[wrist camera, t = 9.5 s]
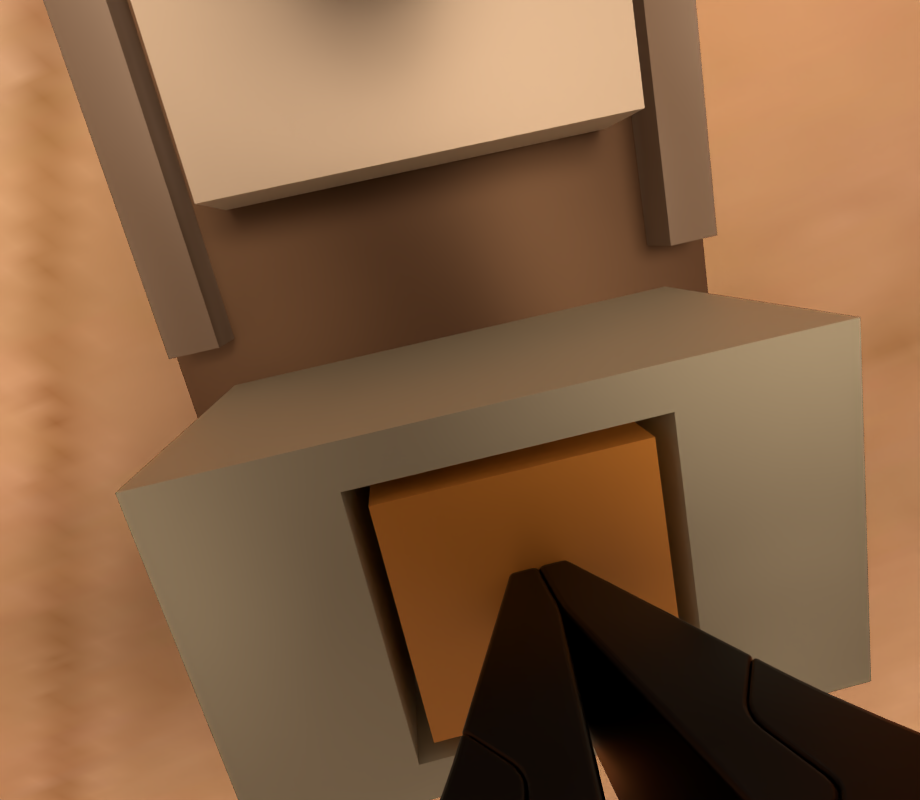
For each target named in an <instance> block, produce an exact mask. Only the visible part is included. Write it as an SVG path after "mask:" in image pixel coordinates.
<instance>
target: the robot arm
mask: <svg viewBox="0 0 920 800" xmlns="http://www.w3.org/2000/svg"><path fill="white" fill-rule="evenodd" d="M462 735H463V736H461V738H460V740H459V744H458V747H457V750H456V754H455V757H454V760H453V763H452V766H451V769H450V772H449V775H448V778H447V781H446V784H445V787H444V789H443V792H442V795H441V798H440V800H605V796H604V792H603V787H602V783H601V779H600V774H599V770H598V766H597V761H596V757H595V753H594V749H595V751H596V753H597V755H598V757H599V760H600V762H601V764H602V766H603V768H604V770H605V772H606V774H607V776H608V778H609V780H610V782H611V785H612V787H613V789H614V791H615V793H616V795H617V797H618V799H619V800H920V733H919V732H917V731H914V730H912V729H909V728H907V727H905V726H902V725H900V724H897V723H895V722H892V721H890V720H888V719H885V718H883V717H881V716H878V715H876V714H874V713H871V712H869V711H867V710H865V709H862V708H860V707H858V706H855V705H853V704H851V703H849V702H846V701H844V700H842V699H839V698H837V697H835V696H833V695H830V694H828V693H826V692H824V691H822V690H820V689H818V688H816V687H814V686H812V685H810V684H808V683H805V682H803V681H801V680H799V679H797V678H795V677H793V676H791V675H789V674H787V673H785V672H783V671H781V670H779V669H777V668H775V667H773V666H771V665H769V664H767V663H765V662H763V661H762V660H760V659H757V658H755V659H752V656H751V655H749V654H747V653H745V652H744V651H742V650H740V649H738V648H736V647H734V646H732V645H730V644H728V643H726V642H724V641H722V640H720V639H718V638H716V637H714V636H712V635H711V634H709V633H707V632H705V631H703V630H701V629H699V628H697V627H695V626H693V625H691V624H689V623H687V622H685V621H683V620H681V619H679V618H678V617H676V616H674V615H672V614H670V613H668V612H666V611H664V610H662V609H660V608H658V607H656V606H654V605H652V604H650V603H648V602H646V601H645V600H643V599H641V598H639V597H637V596H635V595H633V594H631V593H629V592H627V591H625V590H623V589H621V588H619V587H617V586H615V585H613V584H612V583H610V582H608V581H606V580H604V579H602V578H600V577H598V576H596V575H594V574H592V573H590V572H588V571H586V570H584V569H582V568H580V567H579V566H577V565H575V564H573V563H571V562H569V561H566V560H563V561H559V562H555V563H551V564H547V565H543V566H541V567H540V570H538V569H536V568H531V569H527V570H523V571H519V572H515V573H512V574H511V575H510V577H509V579H508V583H507V586H506V589H505V593H504V596H503V599H502V603H501V606H500V609H499V612H498V616H497V619H496V622H495V626H494V629H493V632H492V636H491V639H490V642H489V645H488V649H487V652H486V655H485V659H484V662H483V665H482V669H481V672H480V675H479V679H478V682H477V685H476V688H475V692H474V695H473V698H472V702H471V705H470V708H469V712H468V715H467V718H466V722H465V725H464V728H463V731H462ZM593 747H594V748H593Z"/></svg>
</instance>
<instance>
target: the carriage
mask: <svg viewBox="0 0 920 800" xmlns="http://www.w3.org/2000/svg"><path fill="white" fill-rule="evenodd" d="M130 1H131V4H132V7H133V10H134V13H135V16H136V20H137V23H138V26H139V29H140V32H141V35H142V39H143V42H144V45H145V48H146V51H147V54H148V58H149V61H150V64H151V67H152V70H153V73H154V77H155V80H156V83H157V86H158V89H159V92H160V95H161V99H162V102H163V105H164V108H165V111H166V114H167V118H168V121H169V124H170V127H171V130H172V133H173V137H174V140H175V143H176V146H177V149H178V152H179V156H180V159H181V162H182V165H183V168H184V171H185V174H186V178H187V181H188V184H189V187H190V190H191V193H192V197H193V200H194V203H195V204H198V205H203V206H208V207H213V208H218V209H223V210H229V209H234V208H239V207H243V206H248V205H253V204H257V203H262V202H267V201H271V200H276V199H281V198H285V197H290V196H295V195H299V194H304V193H309V192H313V191H318V190H323V189H327V188H332V187H337V186H341V185H346V184H351V183H355V182H360V181H365V180H369V179H374V178H379V177H383V176H388V175H393V174H397V173H402V172H407V171H411V170H416V169H421V168H425V167H430V166H435V165H439V164H444V163H449V162H453V161H458V160H463V159H467V158H472V157H477V156H481V155H486V154H491V153H495V152H500V151H505V150H509V149H514V148H519V147H523V146H528V145H533V144H537V143H542V142H547V141H551V140H556V139H561V138H565V137H570V136H575V135H579V134H584V133H589V132H594V131H598V130H603V129H607V128H608V127H610V126H612V125H614V124H616V123H618V122H620V121H621V120H623V119H625V118H627V117H629V116H631V115H633V114H634V113H636V112H638V111H640V110H642V109H644V108H645V106H644V98H643V89H642V81H641V72H640V63H639V55H638V46H637V38H636V29H635V20H634V12H633V3H632V0H130Z"/></svg>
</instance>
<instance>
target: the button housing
mask: <svg viewBox="0 0 920 800" xmlns="http://www.w3.org/2000/svg"><path fill="white" fill-rule="evenodd" d="M631 422H635V423H637V424H638V425H639V426H641V427H642V428H644V429H645V430H646V431H648V432H649V433H650V434H652V435H653V436H654V437H655V439H656V447H657V455H658V462H659V470H660V478H661V486H662V493H663V501H664V509H665V516H666V524H667V532H668V539H669V547H670V555H671V563H672V570H673V578H674V586H675V593H676V601H677V609H678V616H679V619H681V620H683V621H685V622H687V623H689V624H691V625H693V626H695V627H697V628H699V629H701V630H703V631H705V632H707V633H709V634H711V635H712V636H714V637H716V638H718V639H720V640H722V641H724V642H726V643H728V644H730V645H732V646H734V647H736V648H738V649H740V650H742V651H744V652H745V653H747V654H749V655H751V656H752V659H755V658H757V659H760V660H762V661H763V662H765V663H767V664H769V665H771V666H773V667H775V668H777V669H779V670H781V671H783V672H785V673H787V674H789V675H791V676H793V677H795V678H797V679H799V680H801V681H803V682H805V683H808V684H810V685H812V686H814V687H816V688H818V689H820V690H822V691H824V692H826V693H829V692H833V691H837V690H840V689H844V688H848V687H851V686H855V685H859V684H863V683H866V682H870V681H871V663H870V629H869V595H868V560H867V526H866V492H865V458H864V423H863V389H862V355H861V320H860V317H856V316H850V315H844V314H837V313H831V312H824V311H818V310H812V309H805V308H799V307H792V306H786V305H780V304H773V303H767V302H760V301H754V300H748V299H741V298H735V297H729V296H722V295H716V294H709V293H703V292H697V291H690V290H684V289H677V288H671V287H661V288H657V289H652V290H648V291H644V292H639V293H635V294H631V295H626V296H622V297H617V298H613V299H609V300H604V301H600V302H596V303H591V304H587V305H583V306H578V307H574V308H569V309H565V310H561V311H556V312H552V313H548V314H543V315H539V316H535V317H530V318H526V319H521V320H517V321H513V322H508V323H504V324H500V325H495V326H491V327H487V328H482V329H478V330H473V331H469V332H465V333H460V334H456V335H452V336H447V337H443V338H439V339H434V340H430V341H425V342H421V343H417V344H412V345H408V346H404V347H399V348H395V349H391V350H386V351H382V352H377V353H373V354H369V355H364V356H360V357H356V358H351V359H347V360H343V361H338V362H334V363H329V364H325V365H321V366H316V367H312V368H308V369H303V370H299V371H295V372H290V373H286V374H281V375H277V376H273V377H268V378H264V379H260V380H255V381H251V382H247V383H242V384H238V385H235V386H233V387H232V388H231V389H230V390H229V391H228V392H227V393H226V394H225V395H223V396H222V397H221V398H220V399H219V400H218V401H217V402H216V403H215V404H213V405H212V406H211V407H210V408H209V409H208V410H207V411H206V412H205V413H203V414H202V415H201V416H200V417H199V418H198V419H197V420H196V421H195V422H193V423H192V424H191V425H190V426H189V427H188V428H187V429H186V430H185V431H183V432H182V433H181V434H180V435H179V436H178V437H177V438H176V439H175V440H174V441H172V442H171V443H170V444H169V445H168V446H167V447H166V448H165V449H164V450H162V451H161V452H160V453H159V454H158V455H157V456H156V457H155V458H154V459H152V460H151V461H150V462H149V463H148V464H147V465H146V466H145V467H144V468H142V469H141V470H140V471H139V472H138V473H137V474H136V475H135V476H134V477H132V478H131V479H130V480H129V481H128V482H127V483H126V484H125V485H124V486H122V487H121V488H120V489H119V490H118V491H117V492H116V493H115V494H116V496H117V499H118V501H119V504H120V506H121V509H122V511H123V514H124V516H125V519H126V521H127V524H128V526H129V529H130V531H131V534H132V536H133V539H134V541H135V544H136V546H137V549H138V551H139V554H140V556H141V559H142V561H143V564H144V566H145V569H146V571H147V574H148V576H149V579H150V581H151V583H152V586H153V588H154V591H155V593H156V596H157V598H158V601H159V603H160V606H161V608H162V611H163V613H164V616H165V618H166V621H167V623H168V626H169V628H170V631H171V633H172V636H173V638H174V641H175V643H176V646H177V648H178V651H179V653H180V656H181V658H182V661H183V663H184V666H185V668H186V671H187V673H188V676H189V678H190V681H191V683H192V686H193V688H194V691H195V693H196V696H197V698H198V701H199V703H200V706H201V708H202V711H203V713H204V716H205V718H206V721H207V723H208V726H209V728H210V731H211V733H212V736H213V738H214V740H215V743H216V745H217V748H218V750H219V753H220V755H221V758H222V760H223V763H224V765H225V768H226V770H227V773H228V775H229V778H230V780H231V783H232V785H233V788H234V790H235V793H236V795H237V798H238V800H432V799H435V798H439V797H441V795H442V792H443V789H444V787H445V784H446V781H447V778H448V775H449V772H450V769H451V766H452V763H453V760H454V757H455V754H456V750H457V747H458V744H459V740H460V738H461V736H459V737H455V738H451V739H447V740H443V741H440V742H436V743H434V741H433V737H432V734H431V730H430V727H429V723H428V719H427V716H426V712H425V709H424V705H423V701H422V698H421V694H420V691H419V687H418V683H417V680H416V676H415V673H414V669H413V665H412V662H411V658H410V655H409V651H408V647H407V644H406V640H405V637H404V633H403V629H402V626H401V622H400V619H399V615H398V611H397V608H396V604H395V601H394V597H393V593H392V590H391V586H390V582H389V579H388V575H387V572H386V568H385V564H384V561H383V557H382V554H381V550H380V546H379V543H378V539H377V536H376V532H375V528H374V525H373V521H372V518H371V514H370V510H369V507H368V506H369V495H370V485H373V484H377V483H381V482H385V481H390V480H394V479H398V478H402V477H406V476H410V475H415V474H419V473H423V472H427V471H431V470H435V469H440V468H444V467H448V466H452V465H456V464H460V463H464V462H469V461H473V460H477V459H481V458H485V457H489V456H494V455H498V454H502V453H506V452H510V451H514V450H519V449H523V448H527V447H531V446H535V445H539V444H543V443H548V442H552V441H556V440H560V439H564V438H568V437H573V436H577V435H581V434H585V433H589V432H593V431H598V430H602V429H606V428H610V427H614V426H618V425H622V424H627V423H631ZM462 736H463V735H462ZM593 748H594V747H593ZM594 753H595V755H597V753H596V751H595V749H594Z"/></svg>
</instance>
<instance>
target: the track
mask: <svg viewBox="0 0 920 800" xmlns="http://www.w3.org/2000/svg"><path fill="white" fill-rule="evenodd" d="M43 2H44V4H45V7H46V10H47V13H48V16H49V19H50V22H51V24H52V27H53V30H54V33H55V36H56V39H57V41H58V44H59V47H60V50H61V53H62V56H63V59H64V61H65V64H66V67H67V70H68V73H69V76H70V78H71V81H72V84H73V87H74V90H75V93H76V96H77V98H78V101H79V104H80V107H81V110H82V113H83V115H84V118H85V121H86V124H87V127H88V130H89V133H90V135H91V138H92V141H93V144H94V147H95V150H96V152H97V155H98V158H99V161H100V164H101V167H102V170H103V172H104V175H105V178H106V181H107V184H108V187H109V190H110V192H111V195H112V198H113V201H114V204H115V207H116V209H117V212H118V215H119V218H120V221H121V224H122V227H123V229H124V232H125V235H126V238H127V241H128V244H129V246H130V249H131V252H132V255H133V258H134V261H135V264H136V266H137V269H138V272H139V275H140V278H141V281H142V283H143V286H144V289H145V292H146V295H147V298H148V301H149V303H150V306H151V309H152V312H153V315H154V318H155V320H156V323H157V326H158V329H159V332H160V335H161V338H162V340H163V343H164V346H165V349H166V352H167V355H168V357H169V359H171V358H176V357H177V359H178V362H179V365H180V368H181V371H182V374H183V376H184V379H185V382H186V385H187V388H188V391H189V394H190V397H191V399H192V402H193V405H194V408H195V411H196V414H197V417H198V418H199V417H200V416H201V415H202V414H203V413H205V412H206V411H207V410H208V409H209V408H210V407H211V406H212V405H213V404H215V403H216V402H217V401H218V400H219V399H220V398H221V397H222V396H223V395H225V394H226V393H227V392H228V391H229V390H230V389H231V388H232V387H233V386H235V385H238V384H242V383H247V382H251V381H255V380H260V379H264V378H268V377H273V376H277V375H281V374H286V373H290V372H295V371H299V370H303V369H308V368H312V367H316V366H321V365H325V364H329V363H334V362H338V361H343V360H347V359H351V358H356V357H360V356H364V355H369V354H373V353H377V352H382V351H386V350H391V349H395V348H399V347H404V346H408V345H412V344H417V343H421V342H425V341H430V340H434V339H439V338H443V337H447V336H452V335H456V334H460V333H465V332H469V331H473V330H478V329H482V328H487V327H491V326H495V325H500V324H504V323H508V322H513V321H517V320H521V319H526V318H530V317H535V316H539V315H543V314H548V313H552V312H556V311H561V310H565V309H569V308H574V307H578V306H583V305H587V304H591V303H596V302H600V301H604V300H609V299H613V298H617V297H622V296H626V295H631V294H635V293H639V292H644V291H648V290H652V289H657V288H661V287H671V288H677V289H684V290H690V291H697V292H703V293H708V289H707V278H706V268H705V258H704V248H703V238H707V237H712V236H716V235H717V229H716V218H715V207H714V196H713V185H712V174H711V163H710V152H709V141H708V130H707V119H706V108H705V97H704V86H703V75H702V64H701V53H700V42H699V32H698V21H697V10H696V0H632V3H633V12H634V20H635V29H636V38H637V46H638V55H639V63H640V72H641V81H642V89H643V98H644V106H645V108H644V109H642V110H640V111H638V112H636V113H634V114H633V115H631V116H629V117H627V118H625V119H623V120H621V121H620V122H618V123H616V124H614V125H612V126H610V127H608V128H607V129H603V130H598V131H594V132H589V133H584V134H579V135H575V136H570V137H565V138H561V139H556V140H551V141H547V142H542V143H537V144H533V145H528V146H523V147H519V148H514V149H509V150H505V151H500V152H495V153H491V154H486V155H481V156H477V157H472V158H467V159H463V160H458V161H453V162H449V163H444V164H439V165H435V166H430V167H425V168H421V169H416V170H411V171H407V172H402V173H397V174H393V175H388V176H383V177H379V178H374V179H369V180H365V181H360V182H355V183H351V184H346V185H341V186H337V187H332V188H327V189H323V190H318V191H313V192H309V193H304V194H299V195H295V196H290V197H285V198H281V199H276V200H271V201H267V202H262V203H257V204H253V205H248V206H243V207H239V208H234V209H229V210H223V209H218V208H213V207H208V206H203V205H198V204H195V203H194V200H193V197H192V193H191V190H190V187H189V184H188V181H187V178H186V174H185V171H184V168H183V165H182V162H181V159H180V156H179V152H178V149H177V146H176V143H175V140H174V137H173V133H172V130H171V127H170V124H169V121H168V118H167V114H166V111H165V108H164V105H163V102H162V99H161V95H160V92H159V89H158V86H157V83H156V80H155V77H154V73H153V70H152V67H151V64H150V61H149V58H148V54H147V51H146V48H145V45H144V42H143V39H142V35H141V32H140V29H139V26H138V23H137V20H136V16H135V13H134V10H133V7H132V4H131V1H130V0H43Z"/></svg>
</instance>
